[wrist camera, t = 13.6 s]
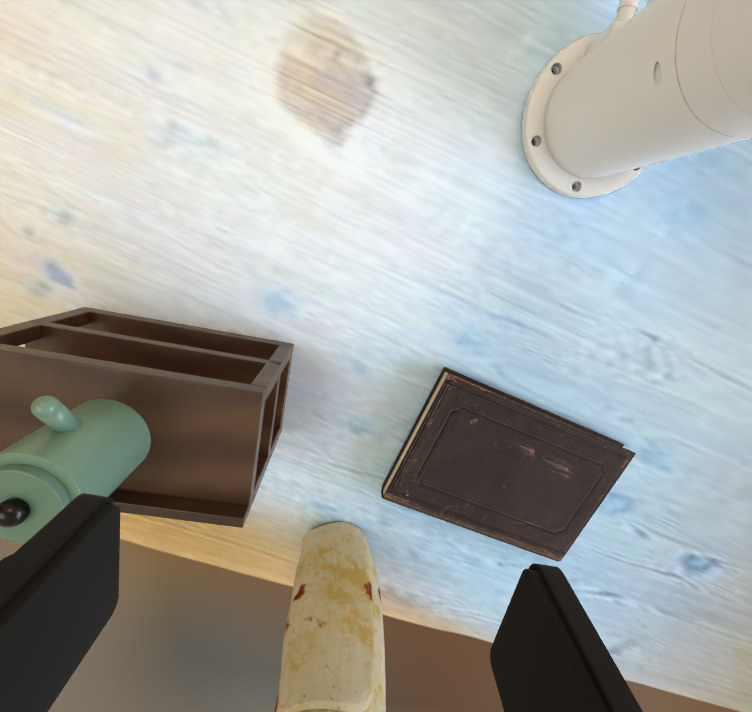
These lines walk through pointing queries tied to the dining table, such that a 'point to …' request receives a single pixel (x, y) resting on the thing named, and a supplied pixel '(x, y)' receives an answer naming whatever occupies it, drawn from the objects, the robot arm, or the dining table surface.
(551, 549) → the hardcover book
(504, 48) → the dining table surface
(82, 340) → the stand
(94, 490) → the kettle
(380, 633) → the food model
